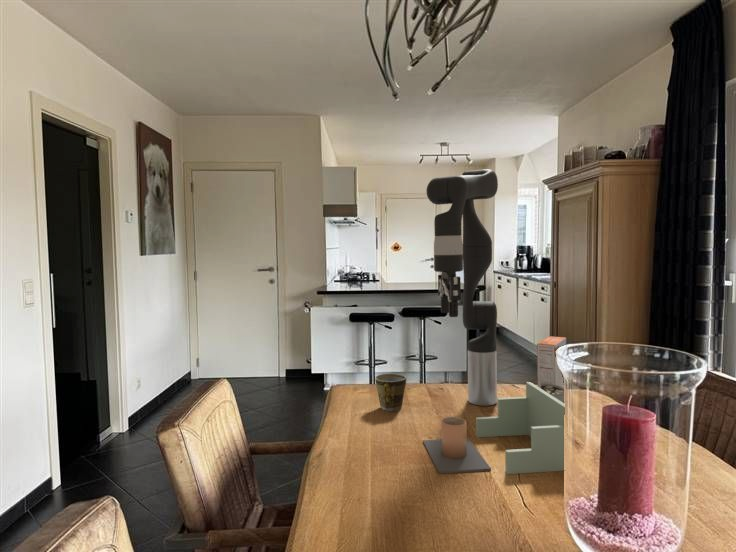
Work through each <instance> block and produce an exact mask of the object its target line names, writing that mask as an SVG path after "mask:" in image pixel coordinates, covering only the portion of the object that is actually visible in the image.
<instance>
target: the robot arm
mask: <svg viewBox="0 0 736 552" xmlns="http://www.w3.org/2000/svg"><path fill="white" fill-rule="evenodd" d="M498 186H499V179H498V176H497V173H496V172H495V171H494V170H493V169H487V168H486V169H485V168H484V169H476V170H475V169H474V170H466V171H463V172H462V174H461V175H460V174H459V175H452V176H451V175H450V176H443V177H442V176H441V177H440V176H439V177H435V178H432V179H431V180H430V181H429V183H428V184H427V185H426V196H427V199H428V200H429V202H430V203H432V204H433V205H438V206H439V205H451V206H450V207H449V210H447V211H445V212H441V213H438V214H436V215H435V216H434V221H433V222H434V223H433V224H434V226H433V227H434V241H433V270H434V272H437V273H440V274H437V275H438V276H437V296H438V297H439V299H440V312H441V314H448V316H449V317H450V318H457V317H458V316H459V302H460V301H461V300H462V324H463V327H464V328H465V329H466V330H485V332H484V333H483V334H482V335H480V336H478V337H475V338H472V339H470V340H468V342H467V400H468V403H470V404H471V405H475V406H483V407H484V406H486V407H487V406H493V405H496V404H498V382H497V381H498V379H497V377H498V376H497V374H498V373H497V371H498V370H497V326H498V323H497V322H498V308H497V304H496V303H495V302H494V301H491V300H473V299H474V295H475V292H476V290H477V287H478V285H479V283H480V281H481V280H482V279H483V277H484V276H485V274H486V272H487V271H488V270H489V267H490V266H491V264H492V260H493V242H492V237H491V236H490V234H489V232H488V230H487V229H486V227H485V226H484V225H483V223H482V222H481V220H480V219H479V216H478V214H477V212H476V208H475V202H474V200H487V199H492V198H493V197H495V195H497V192H498V188H499V187H498ZM457 272H458V273H459V272H463V294H462V292H461V291H462V290H461V288H462V287H461V277H460V276H457V274H456V273H457ZM462 295H463V297H462Z"/></svg>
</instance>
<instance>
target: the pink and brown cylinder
mask: <svg viewBox="0 0 736 552" xmlns="http://www.w3.org/2000/svg"><path fill="white" fill-rule="evenodd" d="M440 423H441V439H442V455H443V456H445V457H447V458H452V459H460V458H464V457H465V456H466V455H467V438H468V436H467V432H468V431H467V420H466V419H465V418H462V417H457V416H449V417H443V418H442V419H441V422H440Z"/></svg>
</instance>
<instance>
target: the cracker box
mask: <svg viewBox="0 0 736 552" xmlns="http://www.w3.org/2000/svg"><path fill="white" fill-rule="evenodd" d="M564 345H566V346H567V337H563V336H562V337H561V336H551V335H550V336H548V337H546V338H544V339H543V340H541V341H539V342H537V344H536V362H537V363H536V366H537V367H536V368H537V369H536V372H537V373H536V374H537V386H538V387H539V388H541V383H546V384H553V385H557V386H560V387H562V388H564V386H563V384H564V383H563V377H562V374H561V372H560V370H559V368H558V366H557V362H556V357H555V351H556V350H557V349H558V348H559V347H561V346H564Z"/></svg>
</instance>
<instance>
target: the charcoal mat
mask: <svg viewBox="0 0 736 552" xmlns="http://www.w3.org/2000/svg"><path fill="white" fill-rule="evenodd" d="M422 443H423V444H424V447H425V448H426V451H427V453H428V454H429V457H430V459H431V461H432V463H433V465H434V467H435V468H436V471H437V470H438V471H437V473H438V472H439V473H438V474H440V473H444V474H455V473H457V474H458V473H471V472H490V471H492V467H491V466H490V465H489V463H488V462H487V461H486V460H485V458H484V456H483V455H482V454H481V453H480V452H479V451H478V449H477V448H476V447H475V445H474V444H473V443H472V442H471V440H470V439H469V437H467V455H466V456H465V457H464V458H460V459H452V458H447V457H445V456H443V455H442V438H441V439H424V440H422ZM440 475H441V474H440Z"/></svg>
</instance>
